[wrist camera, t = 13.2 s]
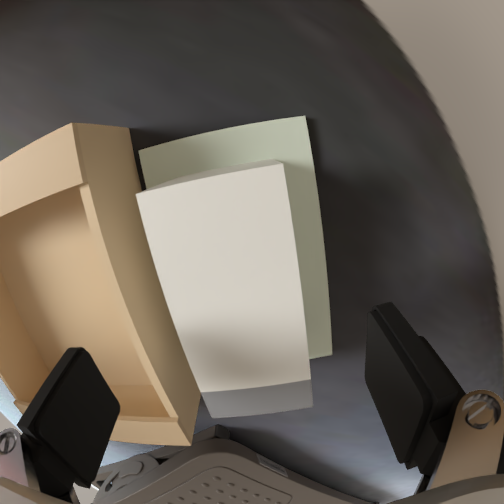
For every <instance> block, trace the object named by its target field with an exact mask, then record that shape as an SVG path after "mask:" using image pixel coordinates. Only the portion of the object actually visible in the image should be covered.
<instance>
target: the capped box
mask: <svg viewBox="0 0 504 504" xmlns="http://www.w3.org/2000/svg"><path fill="white" fill-rule="evenodd" d="M136 198H137V202H138V206H139V210H140V214H141V218H142V222H143V225H144V229H145V233H146V237H147V240H148V244H149V247H150V251H151V254H152V258H153V261H154V264H155V268H156V271H157V274H158V277H159V281H160V284H161V287H162V290H163V293H164V296H165V299H166V302H167V305H168V308H169V311H170V314H171V317H172V320H173V323H174V325H175V328H176V331H177V334H178V336H179V339H180V342H181V345H182V347H183V350H184V352H185V355H186V358H187V360H188V363H189V365H190V368H191V370H192V373H193V375H194V378H195V380H196V383H197V385H198V387H199V390H200V392H201V395H202V397H203V399H204V401H205V404H206V406H207V408H208V411H209V413H210V415H211V417H212V418H226V417H239V416H250V415H260V414H268V413H276V412H283V411H290V410H297V409H303V408H309V407H313V399H312V387H311V375H310V364H309V354H308V344H307V334H306V325H305V316H304V307H303V299H302V290H301V282H300V274H299V267H298V259H297V252H296V245H295V238H294V231H293V224H292V217H291V210H290V204H289V198H288V191H287V185H286V179H285V173H284V167H283V163H281V162H278V161H276V160H274V159H266V160H260V161H254V162H248V163H243V164H237V165H232V166H227V167H222V168H217V169H212V170H207V171H202V172H198V173H193V174H189V175H184V176H180V177H177V178H174V179H172V180H169V181H166V182H164V183H161V184H159V185H156V186H154V187H152V188H149V189H147V190H144V191H142V192H140V193H137V194H136Z"/></svg>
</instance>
